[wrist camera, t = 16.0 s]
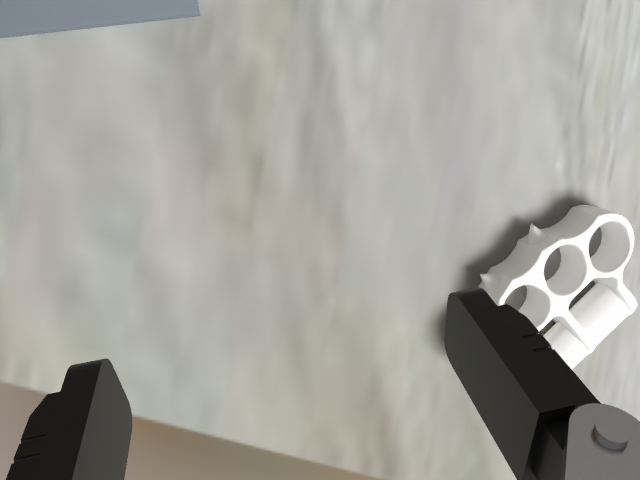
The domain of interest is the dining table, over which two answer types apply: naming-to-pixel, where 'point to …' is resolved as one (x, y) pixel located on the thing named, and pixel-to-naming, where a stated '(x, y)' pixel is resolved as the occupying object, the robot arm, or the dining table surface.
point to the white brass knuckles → (570, 279)
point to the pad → (85, 14)
